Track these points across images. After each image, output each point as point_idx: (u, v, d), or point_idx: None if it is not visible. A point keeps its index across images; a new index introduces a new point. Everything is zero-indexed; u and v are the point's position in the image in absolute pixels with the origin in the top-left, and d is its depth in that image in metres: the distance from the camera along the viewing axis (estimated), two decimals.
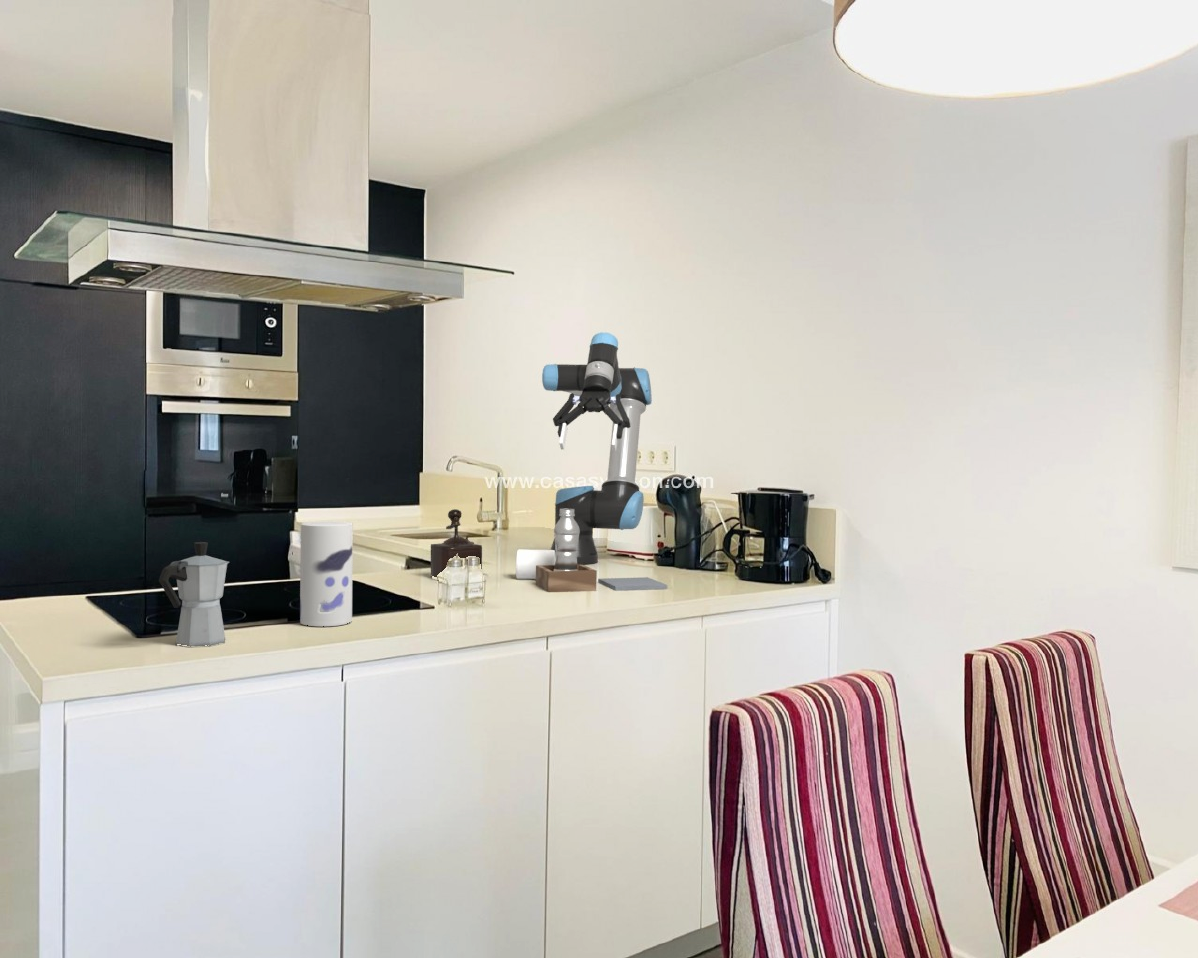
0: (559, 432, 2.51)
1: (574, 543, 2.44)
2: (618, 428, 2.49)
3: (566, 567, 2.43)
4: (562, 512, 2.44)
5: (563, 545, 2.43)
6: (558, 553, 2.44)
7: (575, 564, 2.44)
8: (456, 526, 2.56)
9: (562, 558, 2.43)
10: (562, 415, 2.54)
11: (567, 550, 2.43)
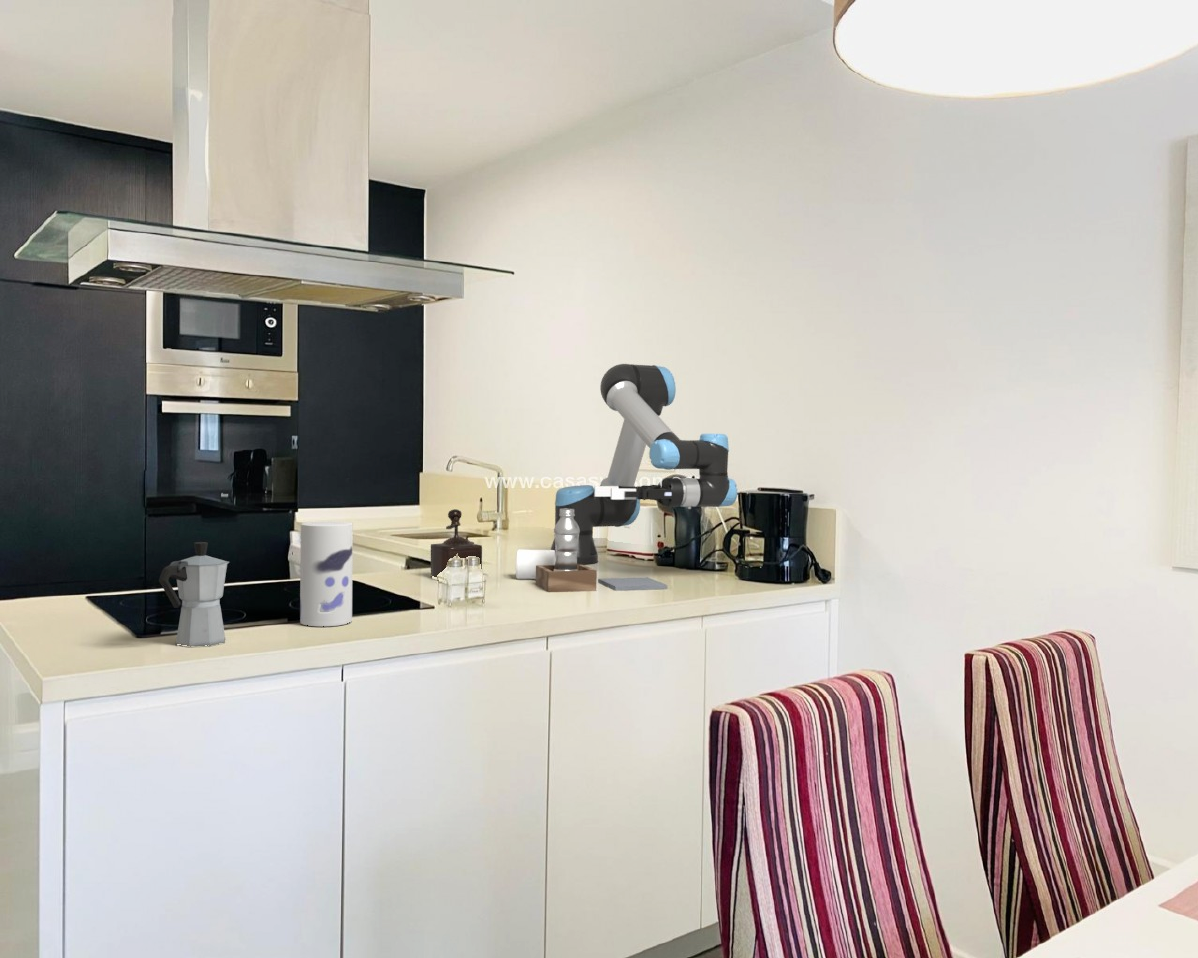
0: (627, 497, 2.42)
1: (574, 543, 2.44)
2: None
3: (566, 567, 2.43)
4: (562, 512, 2.44)
5: (563, 545, 2.43)
6: (558, 553, 2.44)
7: (575, 564, 2.44)
8: (456, 526, 2.56)
9: (562, 558, 2.43)
10: None
11: (567, 550, 2.43)
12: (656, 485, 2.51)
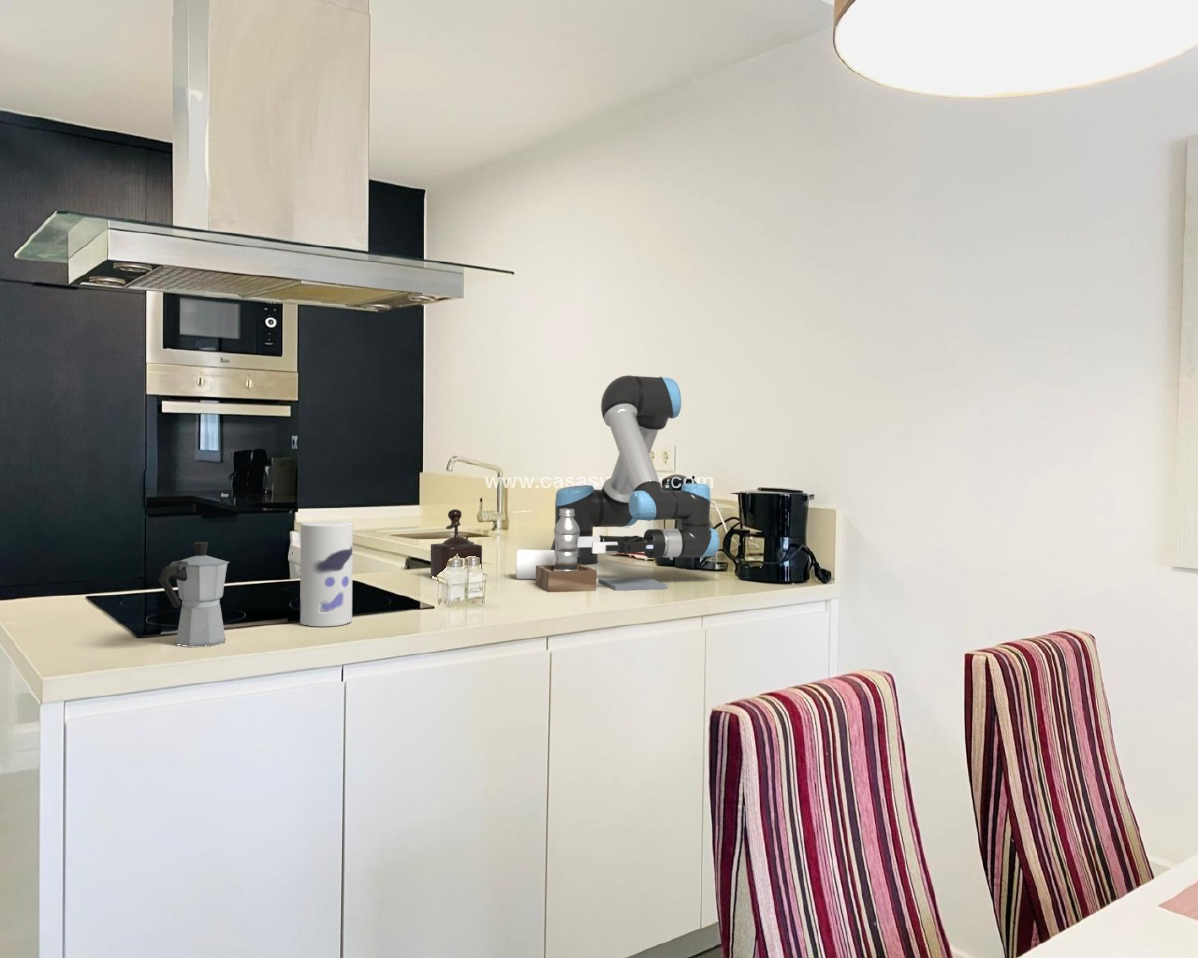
0: (608, 550, 2.40)
1: (574, 543, 2.44)
2: None
3: (566, 567, 2.43)
4: (562, 512, 2.44)
5: (563, 545, 2.43)
6: (558, 553, 2.44)
7: (575, 564, 2.44)
8: (456, 526, 2.56)
9: (562, 558, 2.43)
10: None
11: (567, 550, 2.43)
12: (638, 537, 2.49)
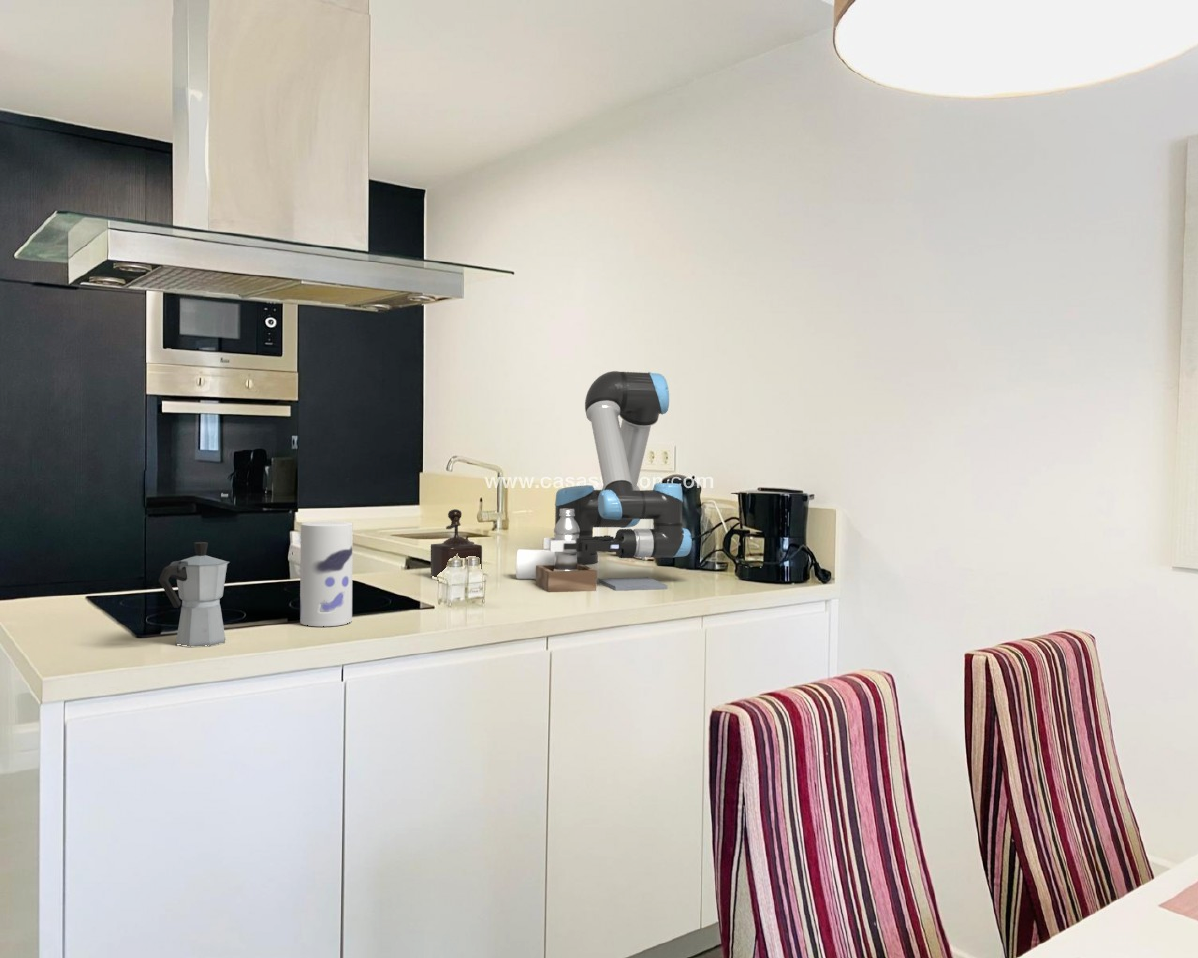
0: (566, 549, 2.41)
1: None
2: None
3: (566, 567, 2.43)
4: (562, 512, 2.44)
5: None
6: (558, 553, 2.44)
7: (575, 564, 2.44)
8: (456, 526, 2.56)
9: (562, 558, 2.43)
10: None
11: None
12: (608, 536, 2.47)
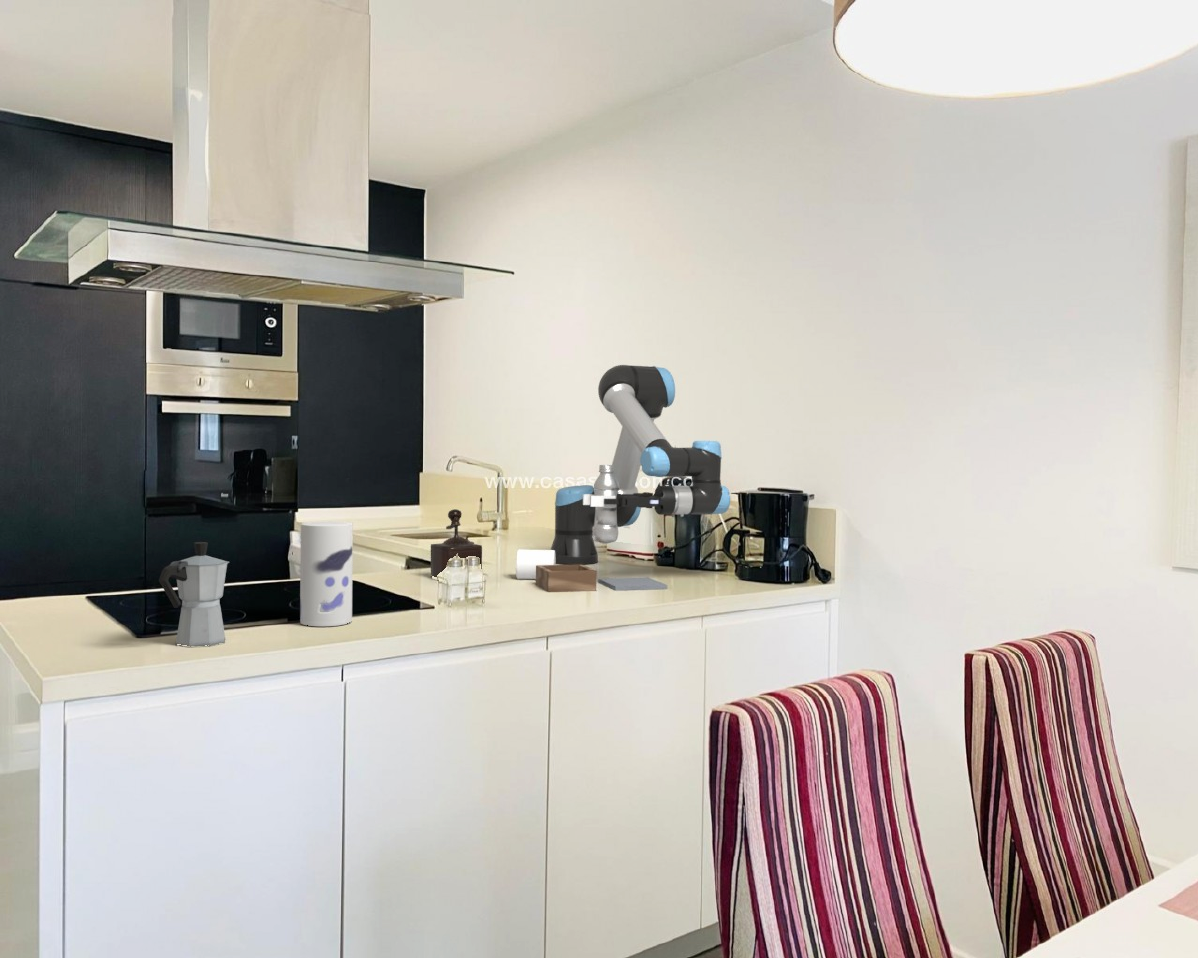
0: (606, 504, 2.43)
1: None
2: None
3: (606, 522, 2.45)
4: (602, 468, 2.46)
5: None
6: (598, 509, 2.46)
7: (615, 520, 2.47)
8: (456, 526, 2.56)
9: (602, 513, 2.46)
10: None
11: None
12: (647, 493, 2.50)
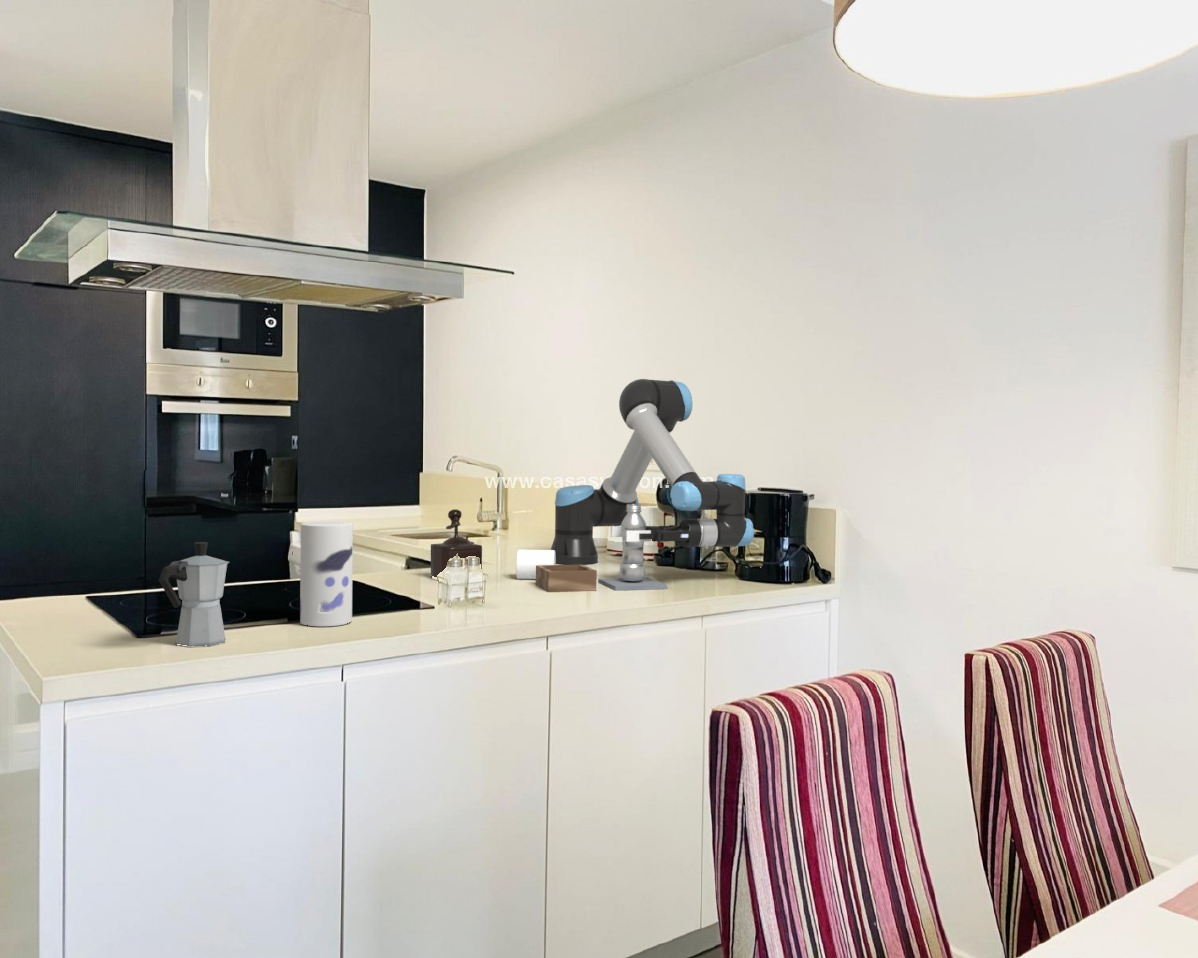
0: (642, 539, 2.44)
1: None
2: None
3: (634, 562, 2.49)
4: (629, 508, 2.49)
5: None
6: (625, 548, 2.49)
7: (642, 558, 2.50)
8: (456, 526, 2.56)
9: (629, 552, 2.49)
10: None
11: (634, 545, 2.48)
12: (674, 526, 2.53)
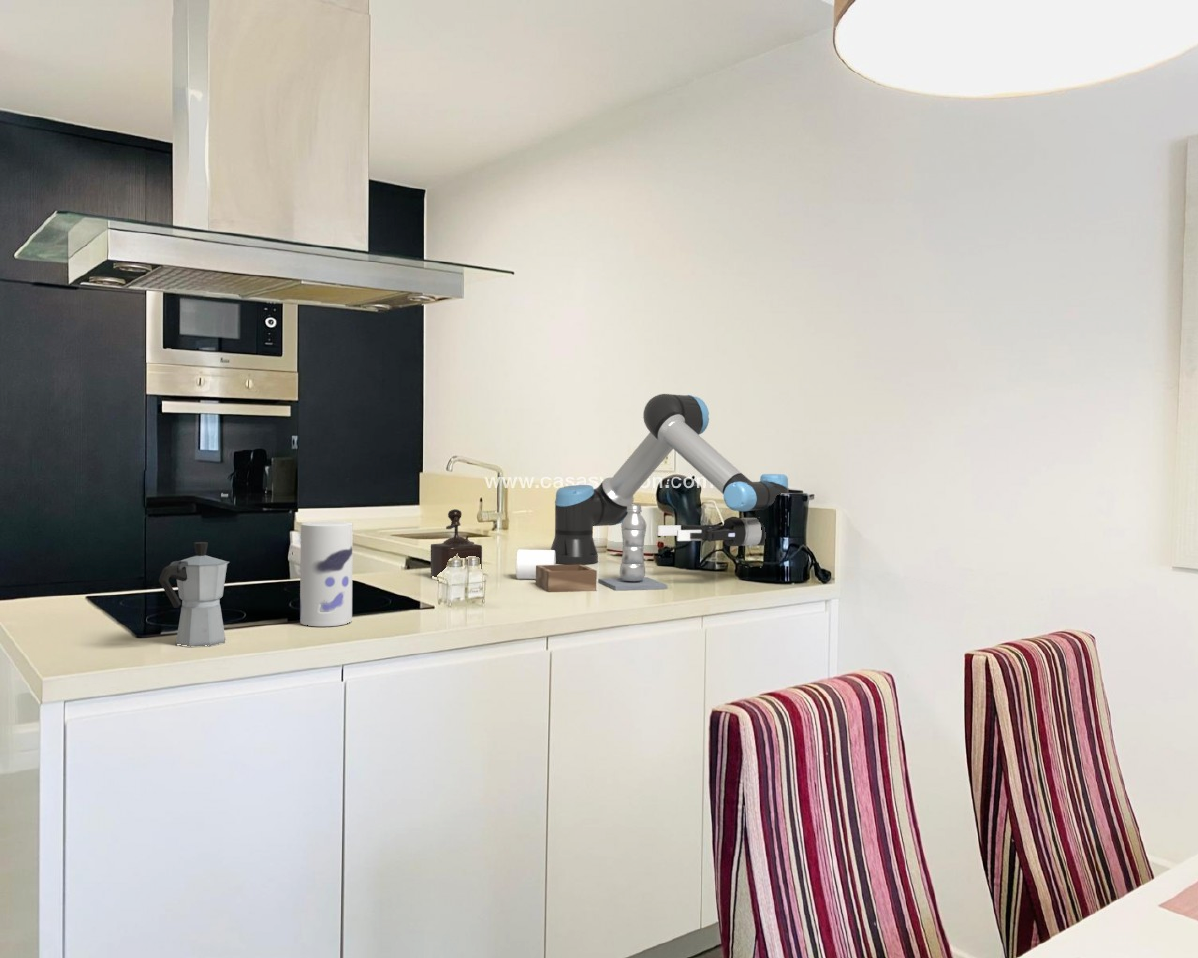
0: (693, 538, 2.48)
1: (641, 538, 2.49)
2: None
3: (634, 562, 2.49)
4: (629, 508, 2.49)
5: (631, 540, 2.48)
6: (626, 548, 2.49)
7: (642, 559, 2.50)
8: (456, 526, 2.56)
9: (629, 552, 2.49)
10: None
11: (635, 545, 2.48)
12: (719, 525, 2.57)
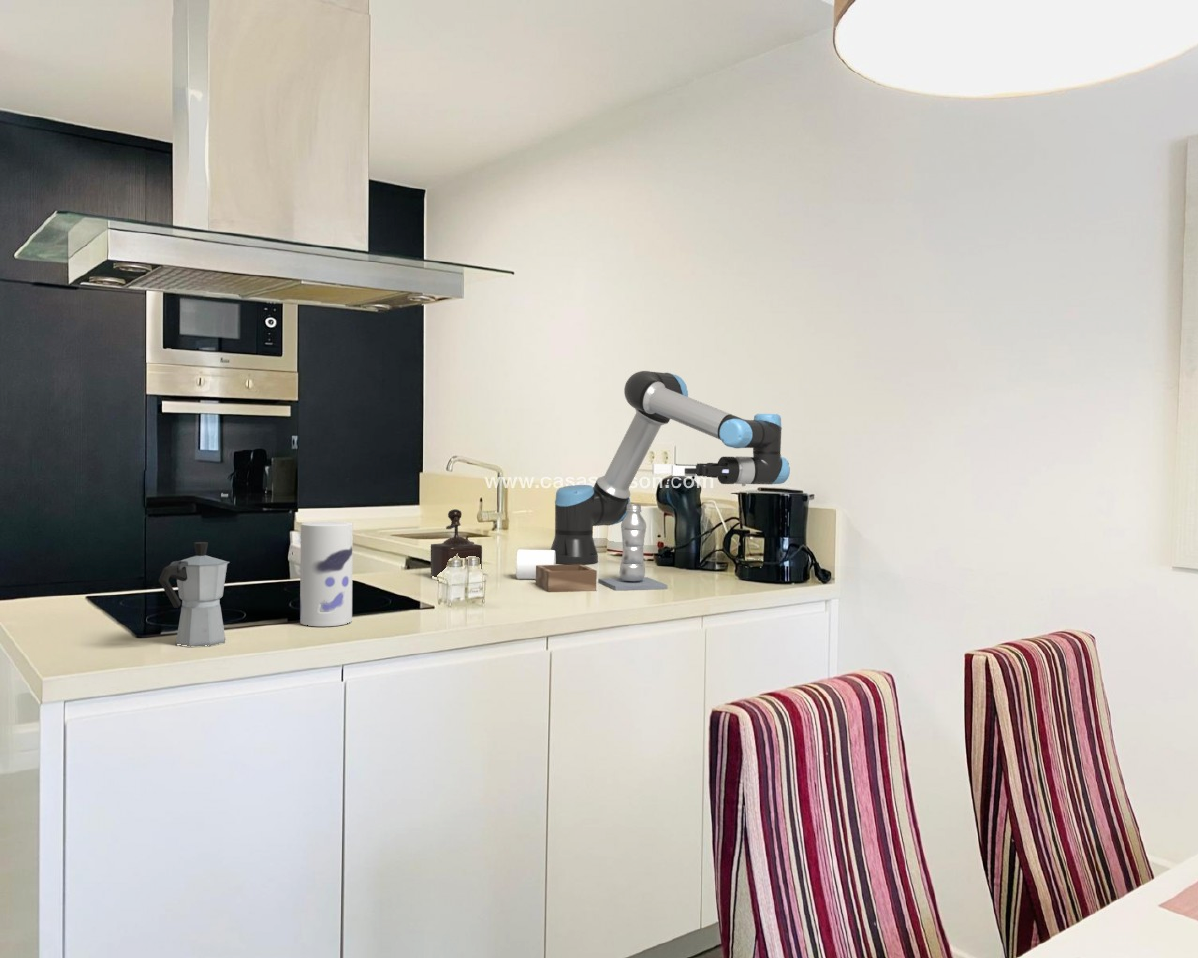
0: (687, 473, 2.52)
1: (641, 538, 2.49)
2: None
3: (634, 562, 2.49)
4: (629, 508, 2.49)
5: (631, 540, 2.48)
6: (625, 548, 2.49)
7: (642, 559, 2.50)
8: (456, 526, 2.56)
9: (629, 552, 2.49)
10: None
11: (634, 545, 2.48)
12: (713, 463, 2.61)
